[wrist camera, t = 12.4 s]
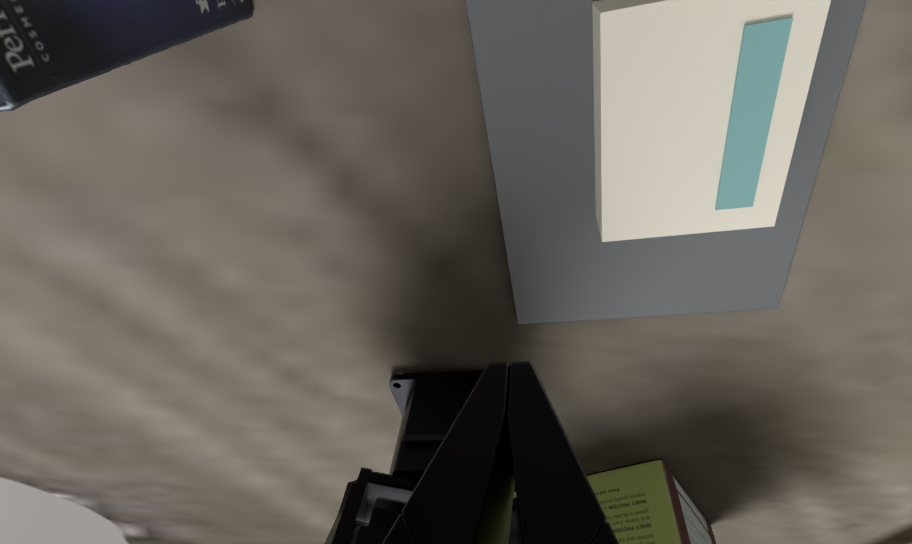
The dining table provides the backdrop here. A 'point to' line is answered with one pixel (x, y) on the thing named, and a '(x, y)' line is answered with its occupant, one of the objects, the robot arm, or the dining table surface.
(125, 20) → the small box
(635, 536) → the protein box
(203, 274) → the dining table surface
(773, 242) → the rubber mat
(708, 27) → the cream slab
